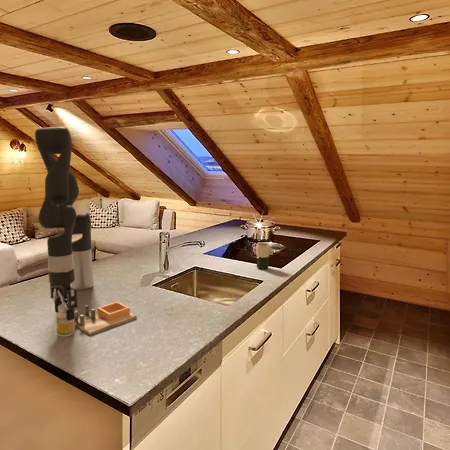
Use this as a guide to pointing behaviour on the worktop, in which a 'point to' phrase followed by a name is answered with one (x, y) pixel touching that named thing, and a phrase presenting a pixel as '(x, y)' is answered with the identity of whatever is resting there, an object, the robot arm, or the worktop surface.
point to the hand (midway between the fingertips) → (64, 315)
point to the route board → (102, 323)
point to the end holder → (121, 312)
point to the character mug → (262, 254)
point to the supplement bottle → (64, 322)
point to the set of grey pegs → (81, 321)
